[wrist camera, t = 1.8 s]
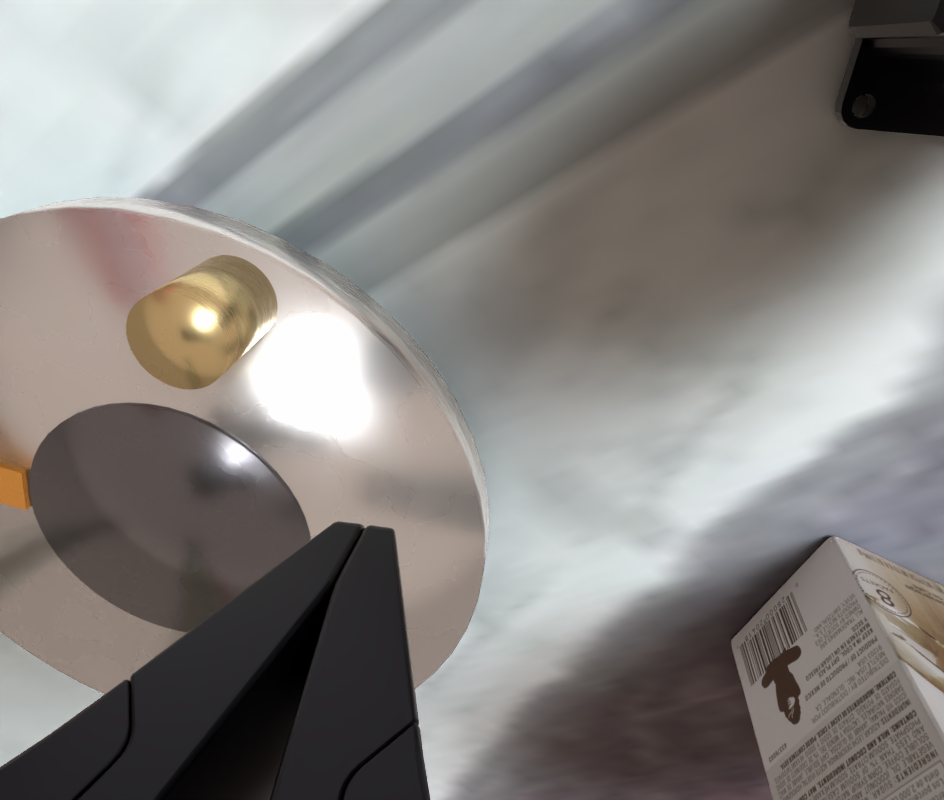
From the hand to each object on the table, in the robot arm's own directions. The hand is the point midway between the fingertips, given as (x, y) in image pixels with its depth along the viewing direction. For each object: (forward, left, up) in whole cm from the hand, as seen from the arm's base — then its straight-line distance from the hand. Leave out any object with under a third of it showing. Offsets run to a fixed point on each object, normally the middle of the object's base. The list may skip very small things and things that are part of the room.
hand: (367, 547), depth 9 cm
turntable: (+9, +9, -12) cm, 17 cm away
